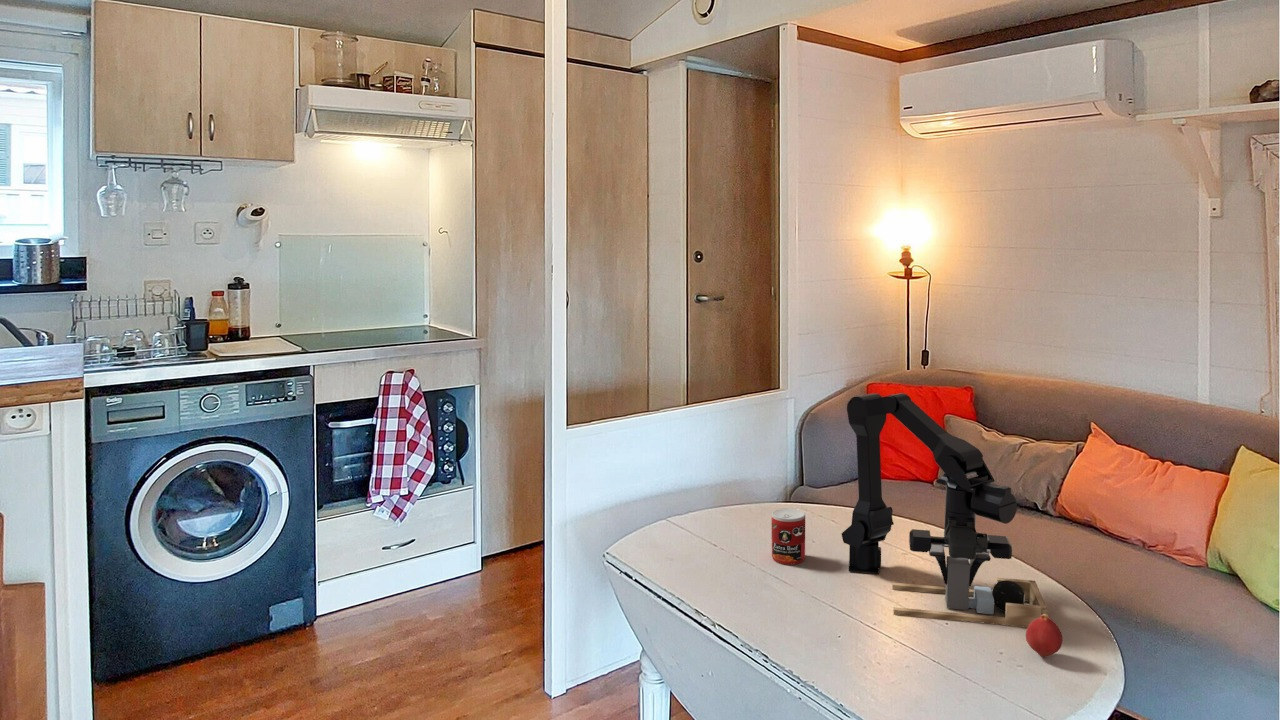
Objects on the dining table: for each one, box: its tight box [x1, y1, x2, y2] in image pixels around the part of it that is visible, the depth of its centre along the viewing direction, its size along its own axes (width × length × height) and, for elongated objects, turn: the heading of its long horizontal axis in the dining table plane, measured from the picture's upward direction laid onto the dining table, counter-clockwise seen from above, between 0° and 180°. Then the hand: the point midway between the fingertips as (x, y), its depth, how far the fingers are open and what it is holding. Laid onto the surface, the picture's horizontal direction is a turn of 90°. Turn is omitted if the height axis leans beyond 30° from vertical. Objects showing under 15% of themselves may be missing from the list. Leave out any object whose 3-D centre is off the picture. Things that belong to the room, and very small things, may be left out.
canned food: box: [771, 507, 806, 566], centre depth 193 cm, size 8×8×11 cm
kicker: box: [944, 555, 995, 615], centre depth 165 cm, size 8×6×9 cm
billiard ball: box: [991, 580, 1026, 612], centre depth 164 cm, size 6×6×6 cm
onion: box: [1025, 614, 1064, 659], centre depth 145 cm, size 6×6×8 cm
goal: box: [996, 577, 1049, 628], centre depth 163 cm, size 7×13×4 cm, turn 164°
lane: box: [891, 582, 1007, 626], centre depth 167 cm, size 20×13×1 cm, turn 74°
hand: (957, 584), depth 166 cm, fingers open, 4 cm apart
